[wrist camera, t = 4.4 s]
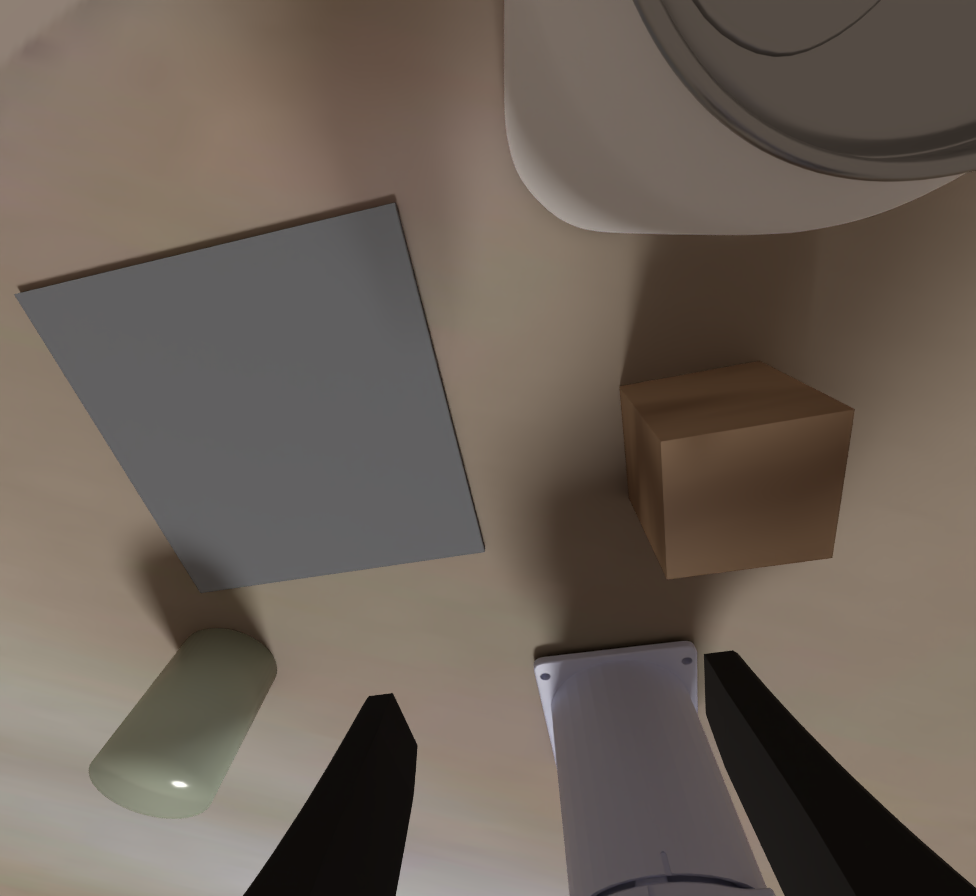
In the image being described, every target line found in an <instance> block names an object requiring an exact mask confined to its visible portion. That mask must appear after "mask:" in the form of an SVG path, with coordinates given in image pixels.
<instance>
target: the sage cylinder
mask: <svg viewBox="0 0 976 896" xmlns="http://www.w3.org/2000/svg"><path fill="white" fill-rule="evenodd" d="M276 674H277V665H276V661H275V659H274V657H273V656H272V654H271V653H270V651H269V650H268V649H267V648H266V647H265V646H264V645H263V644H261V643H260V642H259V641H257V640H256V639H254V638H252V637H250V636H248V635H246V634H243V633H241V632H238V631H234V630H230V629H223V628H210V629H204V630H201V631H198V632H196V633H194V634H192V635H191V636H189V637H188V638H187V640H186V641H185V642H184V643H183V645H182V646H181V647H180V649H179V650H178V651H177V652H176V654H175V655H174V656H173V658H172V659H171V660H170V661H169V663H168V664H167V665H166V667H165V668H164V669H163V671H162V672H161V673H160V674H159V676H158V677H157V678H156V680H155V681H154V682H153V683H152V685H151V686H150V687H149V689H148V690H147V691H146V692H145V694H144V695H143V696H142V698H141V699H140V700H139V701H138V703H137V704H136V705H135V707H134V708H133V709H132V711H131V712H130V713H129V714H128V716H127V717H126V718H125V720H124V721H123V722H122V723H121V725H120V726H119V727H118V729H117V730H116V731H115V732H114V734H113V735H112V736H111V738H110V739H109V740H108V741H107V743H106V744H105V745H104V747H103V748H102V749H101V751H100V752H99V753H98V754H97V756H96V757H95V758H94V760H93V761H92V762H91V764H90V767H89V776H90V779H91V781H92V783H93V784H94V786H95V787H96V788H97V789H98V791H100V792H101V793H102V794H103V795H104V796H105V797H107V798H108V799H109V800H111V801H113V802H114V803H116V804H118V805H120V806H122V807H124V808H126V809H128V810H131V811H134V812H137V813H140V814H143V815H147V816H152V817H158V818H166V819H181V818H188V817H193V816H196V815H199V814H200V813H202V812H204V811H205V810H207V809H208V808H209V806H210V805H211V803H212V801H213V799H214V797H215V795H216V793H217V791H218V789H219V787H220V785H221V783H222V781H223V779H224V777H225V775H226V773H227V772H228V770H229V768H230V766H231V764H232V762H233V760H234V758H235V756H236V754H237V752H238V750H239V748H240V746H241V744H242V742H243V740H244V738H245V736H246V734H247V732H248V730H249V728H250V726H251V725H252V723H253V721H254V719H255V717H256V715H257V713H258V711H259V709H260V707H261V705H262V703H263V701H264V699H265V697H266V695H267V693H268V691H269V689H270V687H271V685H272V683H273V681H274V679H275V677H276Z"/></svg>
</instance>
